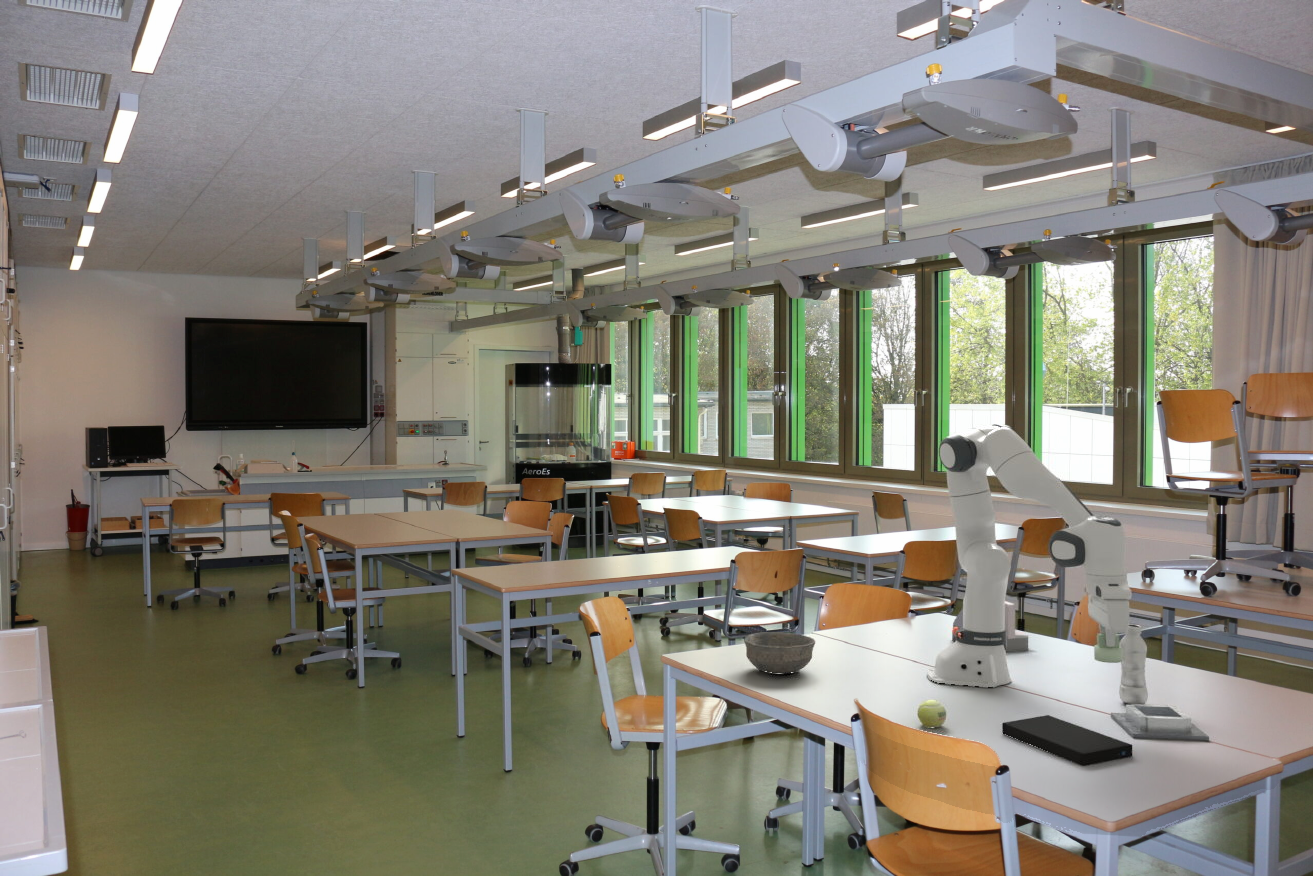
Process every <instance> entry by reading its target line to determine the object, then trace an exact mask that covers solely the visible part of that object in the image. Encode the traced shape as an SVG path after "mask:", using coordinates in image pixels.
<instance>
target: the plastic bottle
mask: <svg viewBox="0 0 1313 876" xmlns="http://www.w3.org/2000/svg"><path fill="white" fill-rule="evenodd" d="M1141 634H1142V626H1141V625H1137V624H1132V623H1131V624H1130V623H1129V628H1128V631H1127V633H1124V636H1123V637H1122V638H1121V639H1120V640H1119V646H1121V647H1122V652H1123V661H1122V662H1120V666H1121V668H1120V669H1121V675H1120V684H1119V690H1118V694H1119V699H1120V700H1121V702H1123V703H1124V704H1126V705H1132V704H1146V703H1147V702H1148V698H1149V693H1148V688H1147V683H1146V660H1147V653H1148V647H1147V643H1146V642H1145V640H1144V639H1143V638H1142V636H1141Z"/></svg>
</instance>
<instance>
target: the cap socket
mask: <svg viewBox="0 0 1313 876" xmlns="http://www.w3.org/2000/svg"><path fill="white" fill-rule="evenodd" d="M1110 718H1111V719H1113V721H1115V723H1117V724H1118V725H1119V726H1120V727H1121V728H1122V729H1123V730H1124V731H1125V732H1126V733H1127V734H1128V735H1130V736H1131V738H1133V739H1149V740H1150V739H1152V740H1153V739H1154V740H1156V739H1157V740H1176V741H1177V740H1179V741H1197V742H1198V741H1199V742H1210V736H1209V735H1208V734H1206V733H1205V732H1204V731H1203V730H1201V729H1200V728H1198V727H1197V726H1196V725H1194V723H1193V722H1192V718H1191V717H1190V716H1189V715H1187V714H1186V713H1185V712H1183V711H1182V710H1181V709H1179V708H1178V707H1176V706H1172V705H1168V704H1146V703H1145V704H1132V705H1131V704H1125V712H1110Z"/></svg>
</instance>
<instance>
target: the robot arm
mask: <svg viewBox="0 0 1313 876" xmlns="http://www.w3.org/2000/svg"><path fill="white" fill-rule="evenodd" d="M938 456H939V460H940V462H941V464H942V466H943V467H944V468H945V469H946V482H947V483H946V484H947V491H948V495H949V502H950V506H951V511H952V514H953V515H952V516H953V520H954V527H955V528H954V529H955V542H956V551H957V557H958V563H959V566H961V569H962V570H963V571H964V572H966V575H967V576H966V586H965V592H964V597H963V601H962V608H963V627H962V628H960V629H958V627H954V629H953V628H952V629H951V632H953V633H954V634H955V635H956V641H955V642H954V641H953V643H951V644H949V645H948V646H947V647H945V648H944V649H942V650H941V651H939V653H938V654H937V656H936V659H935V662H934V663H935V664H934V667H932V668H929V669H928V670H927V672H926V677H927V676H928V677H927V678H928V679H929V681H931V680H932V681H931V682H933V681H934V682H933V683H935V682H937V683H936V684H939V683H945V684H944V685H951V684H955V685H954V686H963V685H968V686H967V687H975V686H979V688H988V687H993V688H996V687H998V686H1003V685H1007V684H1009V683H1011V682H1012V678H1011V675H1010V672H1009V666H1008V662H1007V653H1006V652H1007V651H1006V647H1007V634H1006V630H1005V601H1006V595H1007V590H1008V585H1009V583H1008V582H1009V575H1010V572H1011V569H1012V565H1011V564H1012V563H1011V560H1010V557H1009V555H1008V553H1007V551H1006V550H1004V548H1003V547H1001V546H1000V545H998V543H997V537H996V512H995V508H994V503H993V498H992V494H991V490H990V484H989V480H988V477H987V473H988V472H987V471H988V469H989V468H990V469H991V470H992V471H993V473H994V476H996V478H997V479H998V481H999V483H1000V484H1001V485H1002V487H1003V488H1005V490H1007V492H1008V493H1010V494H1011V495H1013V497H1015V498H1018V499H1022V500H1023V499H1024V500H1028V501H1033V502H1037V503H1038V504H1039V503H1040V504H1043V505H1045V506H1048V507H1050V508H1051V509H1053V510H1054V511H1056V513H1058V515H1059V517H1061V518H1062V520H1064V522H1065V523H1066V524H1067V525H1068V526H1069V527H1067V528H1062V529H1060V530H1056V531H1055V532H1054V533H1053V534H1052V535H1050V538H1049V540H1048V547H1047V548H1048V549H1047V550H1048V553H1049V557H1050V558H1051V560H1052V562H1054V563H1055V564H1056V565H1057V566H1059V567H1060V568H1066V569H1076V568H1084V569H1085V592H1086V593H1087V594H1088V595H1087V596H1088V602H1087V606H1088V607H1087V611H1088V616H1089V618H1091V619H1092V620H1093V621H1095V622H1097V623H1098V630H1099V633H1106V638H1105V644H1106V645H1107V646H1108V647H1114V646H1115V637H1116V634H1126V633H1127V631H1128V628H1129V624H1130V610H1131V609H1130V601H1129V600H1131V599H1132V596H1133V595H1132V593H1133V592H1132V589H1131V588H1130V587H1129V583H1128V571H1127V568H1126V558H1127V540H1126V539H1127V538H1126V533H1125V528H1124V526H1123V523H1122V522H1121V521H1120V520H1118V519H1116V518H1114V517H1110V516H1102V515H1094V513H1092V511H1090V509H1089V508H1087V506H1086V505H1085V504H1084V502H1082V500H1081V499H1080V498H1079V497H1078V495H1076V494H1075V492H1073V491H1072V489H1071V488H1069V486H1068V485H1067V484H1065V482H1064V481H1063V480H1062V479H1060V478H1059V477H1057V476H1056V475H1055V474H1054V473H1053V472H1052V471H1051V470H1050V469H1048V467H1046V465H1044V463H1043V462H1042V461H1041V460H1040V458H1038V456H1037V455H1036V454H1035V452H1034V451H1033V450H1032V448H1031V447H1030V446H1029V445H1028V443H1027V442H1026V441H1025V440H1024V439H1023V438H1022V437H1021V436H1019V434H1018V433H1017V432H1016V431H1014V429H1013V428H1012V427H1011V426H1010V425H1007V424H1003V423H1002V424H1001V423H999V424H998V423H995V424H991V425H985V426H984V425H983V426H978V427H977V426H976V427H973V428H971V429H968V430H964V431H961V432H958V433H953V434H950V435H948V436H947V437H944V438H943V439H942V440H941V441H940V443H939V447H938Z"/></svg>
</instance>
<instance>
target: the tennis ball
mask: <svg viewBox="0 0 1313 876" xmlns="http://www.w3.org/2000/svg"><path fill="white" fill-rule="evenodd" d="M946 718H947V711H946V708H945V706H944V705H943V704H942V703H941V702H940V701H938V700H935V699H933V698H931V699H927V700H925V701H922V702H921V704H919V706H918V709H917V719H919V722H920V723H921V724H922V726H924V727H925V726H926V727H938V728H940V727H942V725H943V724H944V723H945V722H946ZM926 727H925V728H926Z"/></svg>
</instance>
